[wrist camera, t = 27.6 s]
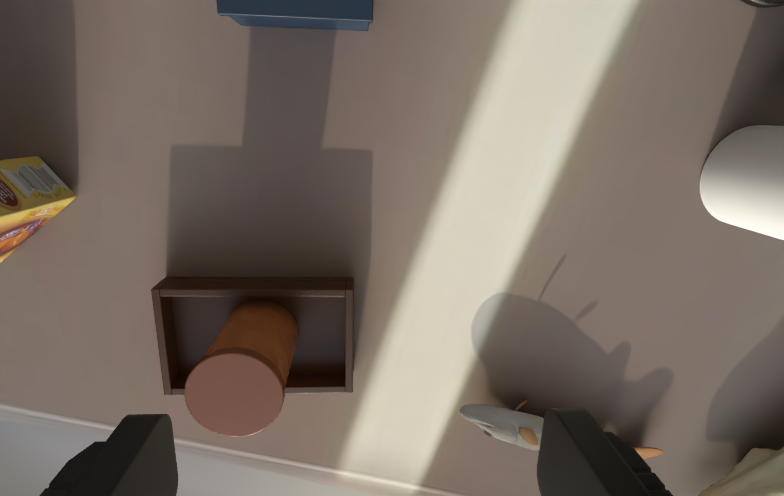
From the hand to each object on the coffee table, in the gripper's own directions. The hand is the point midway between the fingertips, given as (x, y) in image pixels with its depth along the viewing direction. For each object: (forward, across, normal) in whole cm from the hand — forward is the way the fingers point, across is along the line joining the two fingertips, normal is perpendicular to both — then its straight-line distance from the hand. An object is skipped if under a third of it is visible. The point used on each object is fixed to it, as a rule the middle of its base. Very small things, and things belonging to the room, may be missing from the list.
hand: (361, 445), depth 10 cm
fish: (+26, -20, +19) cm, 38 cm away
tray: (+28, +8, +11) cm, 31 cm away
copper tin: (+27, +8, +11) cm, 31 cm away
